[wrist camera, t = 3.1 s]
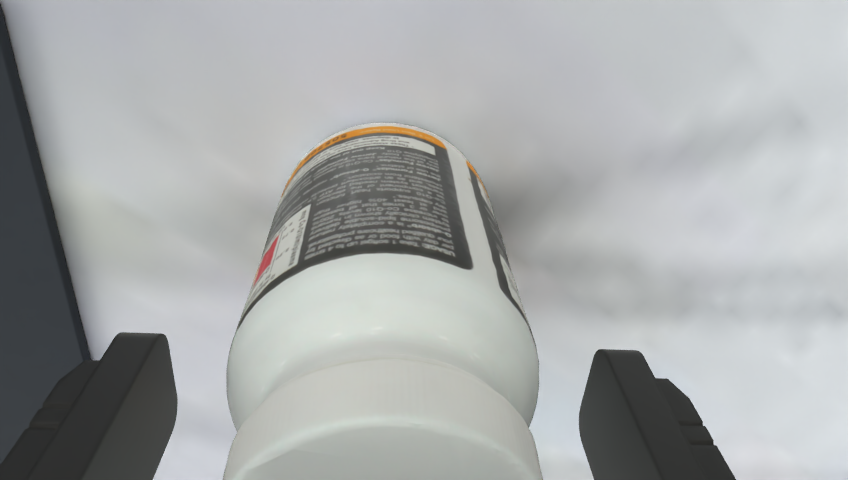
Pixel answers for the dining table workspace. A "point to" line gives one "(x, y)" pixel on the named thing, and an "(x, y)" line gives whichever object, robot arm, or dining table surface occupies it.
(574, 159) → the dining table surface
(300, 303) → the pill bottle
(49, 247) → the placemat
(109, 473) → the robot arm
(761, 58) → the dining table surface
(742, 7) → the dining table surface
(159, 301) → the dining table surface
